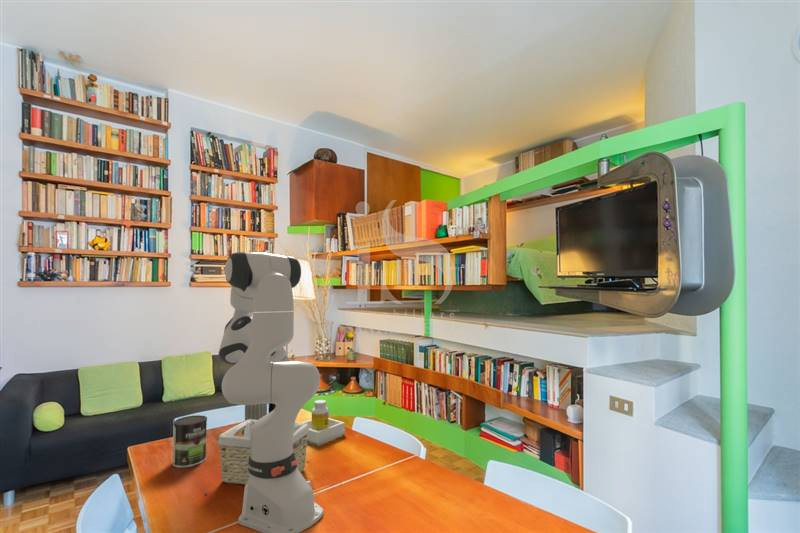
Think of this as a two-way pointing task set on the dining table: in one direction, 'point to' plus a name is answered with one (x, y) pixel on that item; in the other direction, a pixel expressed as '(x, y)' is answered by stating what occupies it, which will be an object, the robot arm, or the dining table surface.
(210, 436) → the dining table surface
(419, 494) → the dining table surface
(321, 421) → the supplement bottle
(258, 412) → the milk frother
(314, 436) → the box
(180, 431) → the coffee can
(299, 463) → the storage basket
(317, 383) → the robot arm
